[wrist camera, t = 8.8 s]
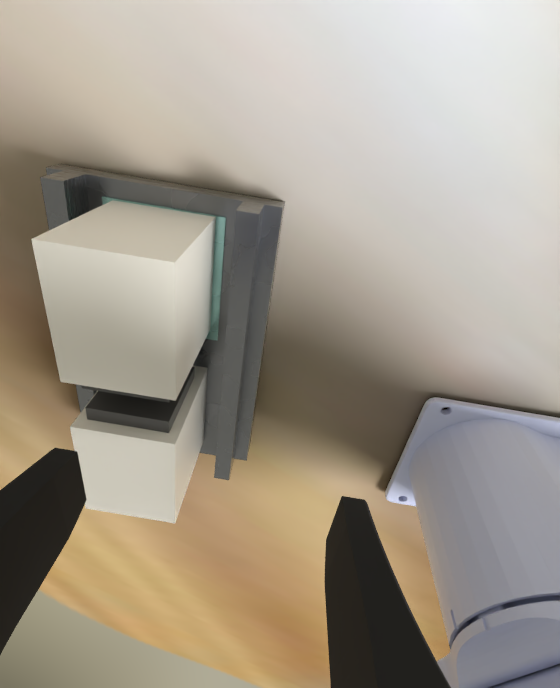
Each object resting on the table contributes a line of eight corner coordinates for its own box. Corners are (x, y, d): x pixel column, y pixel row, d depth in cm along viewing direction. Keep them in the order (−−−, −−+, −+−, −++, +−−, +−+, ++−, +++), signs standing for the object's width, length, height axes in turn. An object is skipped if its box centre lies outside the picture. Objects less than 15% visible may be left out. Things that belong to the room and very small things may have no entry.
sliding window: (284, 201, 16) (279, 217, 13) (249, 447, 23) (242, 482, 21) (60, 163, 16) (20, 173, 13) (97, 421, 23) (75, 454, 21)
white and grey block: (131, 428, 22) (85, 508, 17) (125, 343, 19) (67, 414, 14) (203, 440, 22) (175, 523, 17) (208, 357, 19) (175, 433, 14)
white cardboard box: (215, 217, 15) (174, 262, 11) (209, 340, 18) (175, 413, 14) (112, 200, 15) (31, 238, 11) (123, 326, 18) (63, 395, 14)
